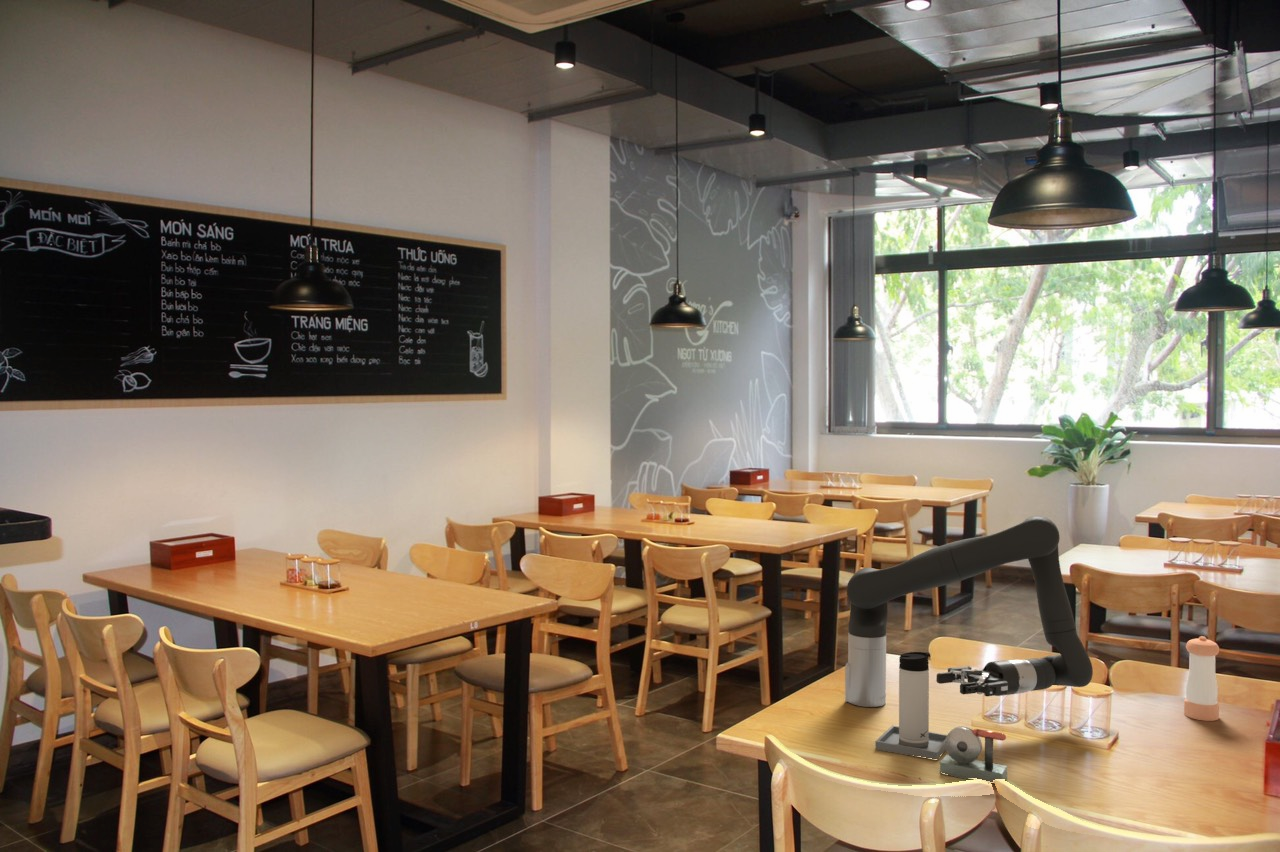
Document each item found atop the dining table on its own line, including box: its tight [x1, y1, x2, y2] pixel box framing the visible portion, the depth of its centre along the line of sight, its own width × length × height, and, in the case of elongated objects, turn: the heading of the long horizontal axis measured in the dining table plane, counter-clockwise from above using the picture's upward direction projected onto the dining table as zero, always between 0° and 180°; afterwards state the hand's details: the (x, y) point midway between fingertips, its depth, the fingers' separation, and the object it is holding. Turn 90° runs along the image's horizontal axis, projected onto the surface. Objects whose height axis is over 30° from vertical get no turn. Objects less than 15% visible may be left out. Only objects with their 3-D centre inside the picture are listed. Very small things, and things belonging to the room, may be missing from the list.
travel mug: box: [898, 651, 932, 748], centre depth 217 cm, size 6×7×20 cm
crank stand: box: [939, 726, 1008, 782], centre depth 201 cm, size 12×5×10 cm, turn 59°
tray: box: [874, 724, 948, 760], centre depth 217 cm, size 13×12×2 cm
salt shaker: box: [1183, 635, 1220, 722], centre depth 238 cm, size 7×7×19 cm
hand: (949, 683), depth 220 cm, fingers open, 8 cm apart
